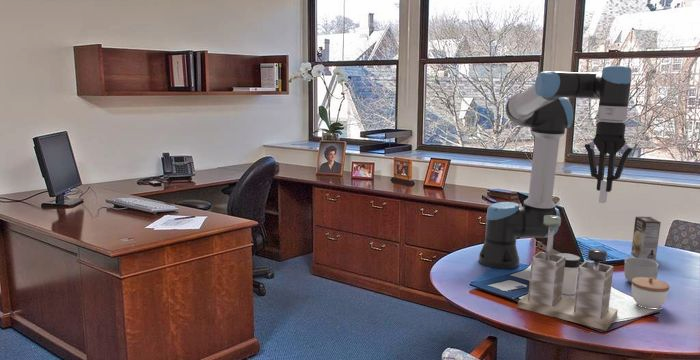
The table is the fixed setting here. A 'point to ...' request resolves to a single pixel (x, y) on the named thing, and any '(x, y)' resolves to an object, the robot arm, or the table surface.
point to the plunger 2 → (597, 257)
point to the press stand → (583, 309)
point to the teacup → (640, 268)
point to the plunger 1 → (551, 232)
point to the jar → (570, 273)
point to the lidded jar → (649, 292)
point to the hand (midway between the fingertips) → (602, 202)
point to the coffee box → (645, 238)
